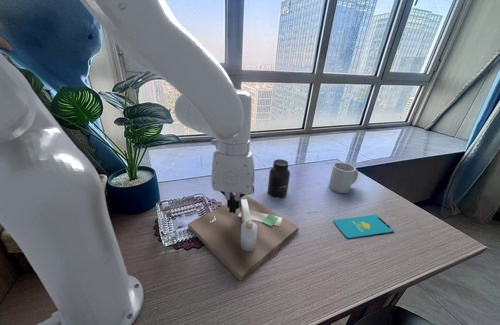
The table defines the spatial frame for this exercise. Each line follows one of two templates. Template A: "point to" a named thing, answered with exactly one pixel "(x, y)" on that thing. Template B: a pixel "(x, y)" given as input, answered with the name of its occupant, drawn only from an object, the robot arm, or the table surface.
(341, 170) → the cup
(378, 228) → the smartphone
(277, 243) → the board
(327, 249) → the table surface
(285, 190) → the supplement bottle
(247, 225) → the tuning lever
